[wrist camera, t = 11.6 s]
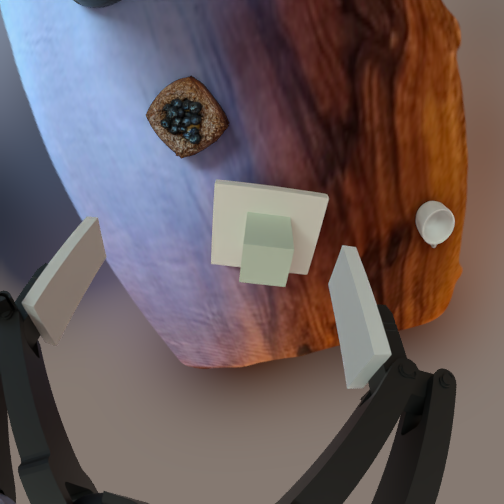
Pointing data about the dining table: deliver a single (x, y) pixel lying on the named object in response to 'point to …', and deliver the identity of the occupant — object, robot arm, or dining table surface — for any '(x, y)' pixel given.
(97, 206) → the dining table surface
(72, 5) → the dining table surface
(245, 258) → the sage block
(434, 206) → the teacup
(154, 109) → the pastry
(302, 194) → the serving stand
